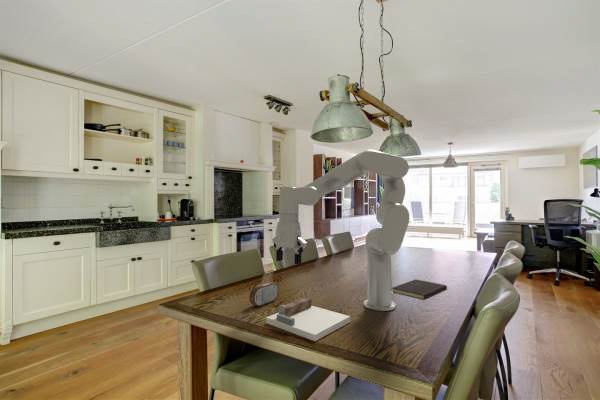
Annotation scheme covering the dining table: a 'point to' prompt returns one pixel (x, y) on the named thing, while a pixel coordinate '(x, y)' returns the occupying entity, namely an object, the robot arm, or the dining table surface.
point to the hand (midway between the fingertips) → (288, 262)
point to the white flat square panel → (310, 322)
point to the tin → (264, 293)
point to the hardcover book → (419, 288)
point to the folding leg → (295, 307)
